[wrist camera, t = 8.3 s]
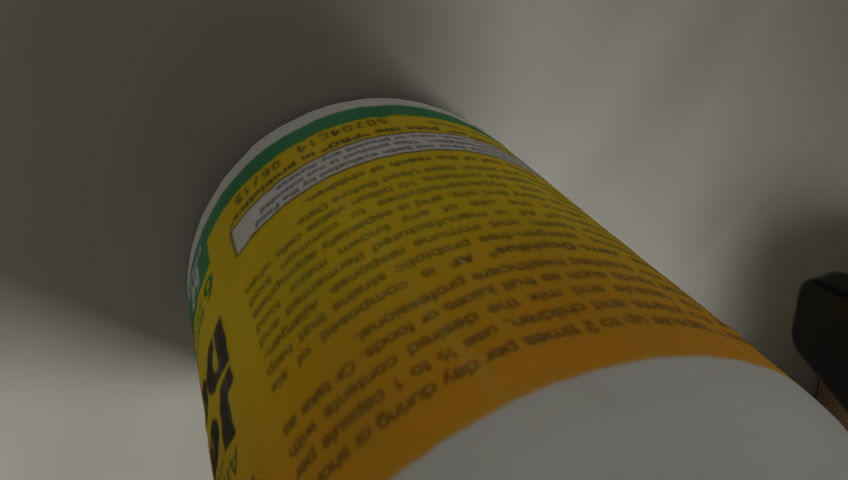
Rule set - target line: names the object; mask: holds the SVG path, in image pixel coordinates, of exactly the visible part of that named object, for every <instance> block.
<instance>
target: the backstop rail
mask: <svg viewBox="0 0 848 480" xmlns="http://www.w3.org/2000/svg"><path fill="white" fill-rule="evenodd" d="M816 400H817V401H818V402H819V403H820V404H821V405H822V406H823V407H825V408H826V409H827V410H828V411H829V412H830V413H831V414H832V415H833V416H834V417H835V418H836V419H837V420H838V421H839V422H840V423H841V424H842V425H843V427H844V428H845V429H846V430H847V431H848V413H847V412H846V411H845V410H844V408H843V407H842V406H841V405H840V404H839V402H838V401H837V400H836V399H835V397H834V396H833V395H832V394H831V392H830V391H829V390H828V389H827V387H826V386H825V385H824V384H823V383H822V381H821V380H820V383H819V388H818V392H817V397H816Z"/></svg>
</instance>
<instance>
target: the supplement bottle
mask: <svg viewBox="0 0 848 480" xmlns="http://www.w3.org/2000/svg"><path fill="white" fill-rule="evenodd" d="M188 297H189V305H190V314H191V320H192V329H193V335H194V342H195V351H196V357H197V364H198V372H199V379H200V387H201V393H202V400H203V406H204V412H205V424H206V431H207V435H208V446H209V454H210V461H211V467H212V473H213V478H214V480H848V431H847V430H846V429H845V428H844V427H843V425H842V424H841V423H840V422H839V421H838V420H837V419H836V418H835V417H834V416H833V415H832V414H831V413H830V412H829V411H828V410H827V409H826V408H825V407H823V406H822V405H821V404H820V403H819V402H818V401H817V400H816V399H815V398H813V397H812V396H811V395H810V394H809V393H808V392H806V391H805V390H804V389H803V388H802V387H801V386H799V385H798V384H797V383H796V382H795V381H793V380H792V379H791V378H790V377H789V376H787V375H786V374H785V373H784V372H783V371H781V370H780V369H779V368H778V367H777V366H775V365H774V364H773V363H772V362H771V361H769V360H768V359H767V358H766V357H764V356H763V355H762V354H761V353H760V352H758V351H757V350H756V349H755V348H754V347H753V346H752V345H751V344H749V343H748V342H747V341H745V340H744V339H743V338H742V337H741V336H740V335H739V334H738V333H737V332H736V331H734V330H733V329H731V328H730V327H728V326H727V325H725V324H724V323H722V322H721V321H720V320H718V319H717V318H716V317H715V316H714V315H712V314H711V313H710V312H709V311H707V310H706V309H705V308H704V307H702V306H701V305H700V304H699V303H697V302H696V301H695V300H694V299H692V298H691V297H690V296H689V295H687V294H686V293H685V292H684V291H682V290H681V289H680V288H678V287H677V286H676V285H675V284H673V283H672V282H671V281H670V280H668V279H667V278H666V277H665V276H663V275H662V274H661V273H659V272H658V271H657V270H656V269H654V268H653V267H652V266H650V265H649V264H648V263H647V262H645V261H644V260H643V259H642V258H640V257H639V256H638V255H637V254H636V253H635V252H633V251H632V250H631V249H630V248H629V247H627V246H626V245H625V244H624V243H622V242H621V241H620V240H618V239H617V238H616V237H615V236H613V235H612V234H611V233H610V232H608V231H607V230H606V229H604V228H603V227H602V226H601V225H599V224H598V223H597V222H596V221H594V220H593V219H592V218H591V217H590V216H588V215H587V214H586V213H585V212H584V211H582V210H581V209H580V208H579V207H578V206H576V205H575V204H574V203H573V202H571V201H570V200H569V199H568V198H566V197H565V196H564V195H563V194H561V193H560V192H559V191H558V190H556V189H555V188H554V187H553V186H552V185H551V184H549V183H548V182H547V181H546V180H545V179H544V178H543V177H541V176H540V175H539V174H538V173H537V172H535V171H534V170H533V169H531V168H530V167H529V166H528V165H526V164H525V163H524V162H522V161H521V160H520V159H519V158H517V157H516V156H515V155H514V154H512V153H511V152H510V151H509V150H508V149H507V148H505V147H504V146H503V145H502V144H501V143H499V142H498V141H496V140H495V139H493V138H492V137H491V136H489V135H488V134H487V133H486V132H484V131H483V130H482V129H480V128H479V127H477V126H475V125H474V124H472V123H470V122H469V121H467V120H465V119H463V118H461V117H459V116H457V115H455V114H453V113H451V112H448V111H445V110H442V109H440V108H437V107H434V106H431V105H427V104H423V103H420V102H415V101H409V100H403V99H391V98H371V99H360V100H354V101H348V102H342V103H337V104H333V105H329V106H326V107H323V108H320V109H317V110H314V111H311V112H309V113H307V114H305V115H303V116H301V117H298V118H296V119H294V120H292V121H290V122H288V123H286V124H284V125H282V126H280V127H278V128H277V129H275V130H274V131H272V132H271V133H269V134H268V135H266V136H265V137H263V138H262V139H261V140H259V141H258V142H257V143H255V144H254V145H253V146H252V147H251V149H250V150H249V151H248V152H247V153H246V154H245V155H244V156H243V157H242V158H241V159H240V160H239V162H238V163H237V164H236V165H235V166H234V167H233V168H232V169H231V170H230V172H229V173H228V174H227V175H226V176H225V177H224V179H223V180H222V182H221V184H220V185H219V187H218V188H217V190H216V192H215V193H214V195H213V197H212V199H211V200H210V202H209V204H208V206H207V208H206V209H205V211H204V213H203V215H202V218H201V220H200V223H199V226H198V229H197V232H196V235H195V238H194V241H193V245H192V250H191V254H190V261H189V267H188Z"/></svg>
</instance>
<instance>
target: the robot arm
mask: <svg viewBox="0 0 848 480" xmlns="http://www.w3.org/2000/svg"><path fill="white" fill-rule="evenodd" d="M791 337H792V341H793V344H794V346H795V348H796V350H797V351H798V353H799V354H800V355H801V357H802V358H803V359H804V360H805V362H806V363H807V364H808V365H809V367H810V368H811V369H812V370H813V371H814V373H815V374H816V375H817V376H818V378H819V379H820V380H821V381H822V383H823V384H824V385H825V386H826V387H827V389H828V390H829V391H830V392H831V394H832V395H833V396H834V397H835V399H836V400H837V401H838V402H839V404H840V405H841V406H842V407H843V408H844V410H845V411H846V412H847V413H848V274H846V273H842V272H827V273H824V274H821V275H819V276H816V277H813V278H810V279H807V280H805V281H804V282H803V283H802V284H801V286H800V287H799V291H798V295H797V301H796V307H795V312H794V318H793V323H792V329H791Z"/></svg>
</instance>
